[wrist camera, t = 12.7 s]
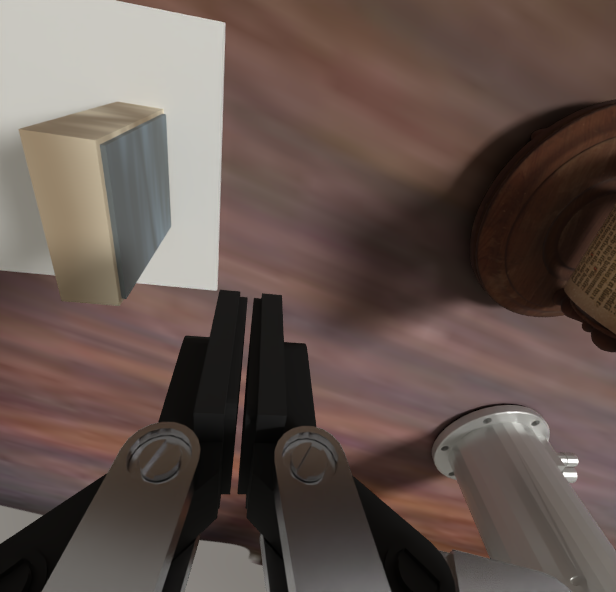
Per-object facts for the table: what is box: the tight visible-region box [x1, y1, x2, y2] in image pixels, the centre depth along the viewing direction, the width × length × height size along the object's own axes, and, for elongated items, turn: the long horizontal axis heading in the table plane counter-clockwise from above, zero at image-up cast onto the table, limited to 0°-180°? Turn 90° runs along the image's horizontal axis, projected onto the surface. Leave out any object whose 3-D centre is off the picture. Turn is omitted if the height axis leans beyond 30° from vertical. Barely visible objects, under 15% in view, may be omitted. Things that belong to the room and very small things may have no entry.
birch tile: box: [18, 102, 171, 306], centre depth 18 cm, size 3×7×9 cm, turn 171°
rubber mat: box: [0, 0, 226, 291], centre depth 21 cm, size 16×16×1 cm
